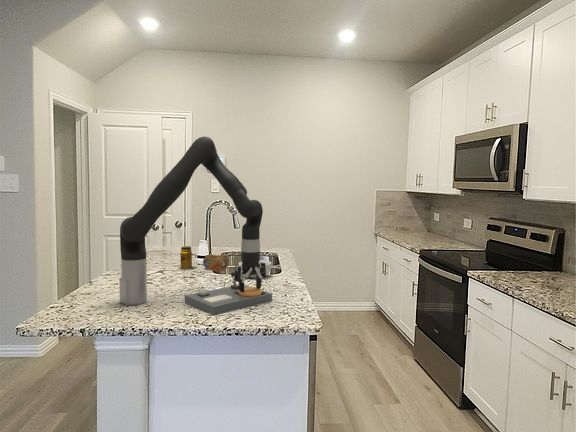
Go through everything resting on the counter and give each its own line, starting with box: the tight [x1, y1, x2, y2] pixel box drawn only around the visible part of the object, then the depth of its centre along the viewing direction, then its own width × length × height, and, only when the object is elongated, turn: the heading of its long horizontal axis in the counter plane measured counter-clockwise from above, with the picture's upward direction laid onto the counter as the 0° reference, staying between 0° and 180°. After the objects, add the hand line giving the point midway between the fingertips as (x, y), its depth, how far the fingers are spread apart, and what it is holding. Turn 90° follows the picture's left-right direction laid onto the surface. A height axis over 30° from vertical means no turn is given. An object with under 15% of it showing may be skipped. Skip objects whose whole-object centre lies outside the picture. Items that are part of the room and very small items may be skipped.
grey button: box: [198, 289, 209, 296], centre depth 164 cm, size 4×4×2 cm
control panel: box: [184, 284, 273, 316], centre depth 165 cm, size 28×20×4 cm
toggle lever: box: [230, 271, 237, 285], centre depth 175 cm, size 2×2×6 cm
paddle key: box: [203, 294, 233, 304], centre depth 157 cm, size 10×5×2 cm, turn 134°
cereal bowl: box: [237, 259, 273, 279], centre depth 212 cm, size 17×17×7 cm
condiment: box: [178, 245, 197, 271], centre depth 228 cm, size 7×8×12 cm
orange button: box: [239, 286, 263, 298], centre depth 167 cm, size 9×9×2 cm
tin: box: [202, 254, 229, 272], centre depth 225 cm, size 15×3×8 cm, turn 62°
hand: (250, 289), depth 168 cm, fingers open, 8 cm apart
